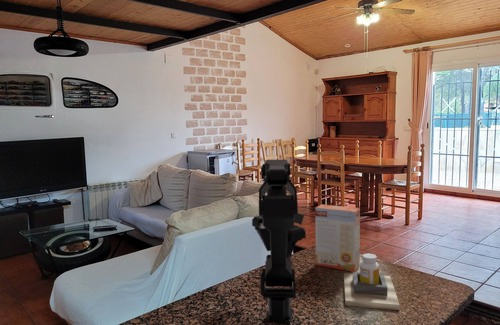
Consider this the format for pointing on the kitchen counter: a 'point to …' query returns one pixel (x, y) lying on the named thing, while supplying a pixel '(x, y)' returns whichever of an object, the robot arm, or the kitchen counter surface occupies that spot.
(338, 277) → the kitchen counter surface
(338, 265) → the cracker box
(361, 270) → the supplement bottle
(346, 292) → the collar board
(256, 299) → the kitchen counter surface
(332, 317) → the kitchen counter surface
